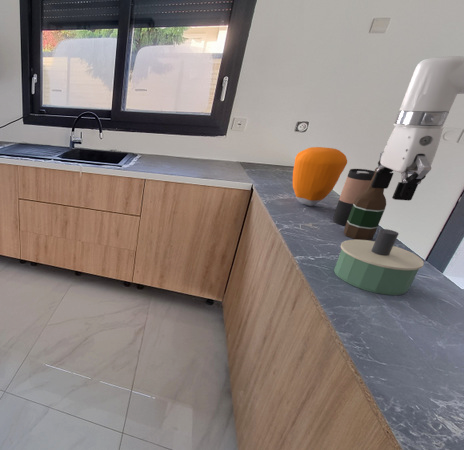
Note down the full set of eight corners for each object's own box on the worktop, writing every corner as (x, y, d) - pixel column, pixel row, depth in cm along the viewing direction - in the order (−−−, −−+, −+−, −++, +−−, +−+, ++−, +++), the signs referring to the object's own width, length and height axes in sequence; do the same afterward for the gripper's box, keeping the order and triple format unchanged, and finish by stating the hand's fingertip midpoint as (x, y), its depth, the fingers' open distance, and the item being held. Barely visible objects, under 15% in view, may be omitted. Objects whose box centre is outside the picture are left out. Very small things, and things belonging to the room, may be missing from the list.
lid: (380, 242, 88) (390, 219, 85) (441, 272, 74) (456, 245, 71) (325, 243, 88) (333, 220, 85) (375, 273, 74) (387, 246, 71)
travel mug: (355, 220, 119) (374, 169, 111) (360, 228, 113) (381, 174, 105) (330, 217, 123) (347, 167, 115) (333, 224, 117) (351, 172, 109)
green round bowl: (371, 264, 90) (381, 241, 87) (424, 294, 77) (438, 268, 74) (321, 265, 91) (329, 242, 88) (365, 295, 77) (376, 269, 74)
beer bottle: (345, 229, 112) (370, 164, 103) (374, 236, 107) (403, 167, 97) (339, 235, 108) (364, 167, 98) (369, 243, 102) (398, 172, 93)
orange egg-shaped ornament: (278, 197, 147) (293, 143, 137) (321, 200, 142) (339, 144, 132) (290, 209, 132) (307, 150, 122) (338, 213, 127) (360, 151, 117)
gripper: (473, 123, 60) (433, 206, 67) (417, 116, 75) (389, 185, 82) (422, 123, 62) (389, 203, 69) (377, 116, 77) (354, 183, 84)
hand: (389, 193), depth 75 cm, fingers open, 9 cm apart
